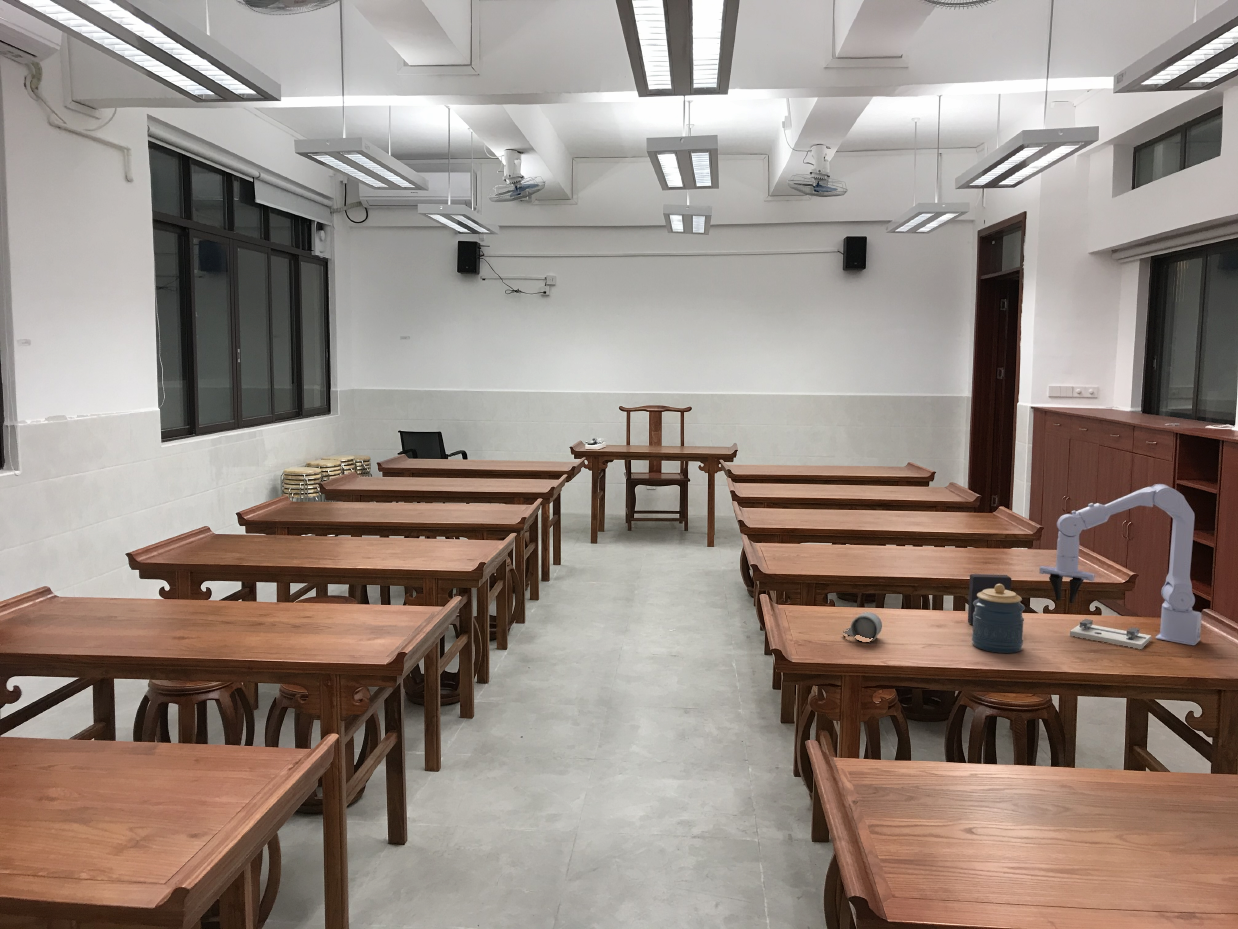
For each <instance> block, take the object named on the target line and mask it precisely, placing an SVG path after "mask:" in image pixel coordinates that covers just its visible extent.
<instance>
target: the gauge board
mask: <svg viewBox="0 0 1238 929" xmlns="http://www.w3.org/2000/svg"><path fill="white" fill-rule="evenodd" d="M1126 634H1127V630H1122V629H1116V628H1112V627H1105V626H1102V625H1095V624H1092V626H1091V627H1089V628H1088V629H1081V628H1080V624H1078V625H1077V626H1075V627H1074V628H1072V629H1071V630H1070V631H1069V637H1073V636H1075V637H1074V638H1078V637H1080V638H1079V639H1083V638H1086V639H1085V640H1088V639H1092V640H1091V641H1093V640H1098V641H1104V642H1109V643H1114V644H1119V645H1123V646H1122V647H1124V646H1128V647H1127V648H1130V647H1133V648H1132V649H1135V648H1138V649H1137V650H1140V649H1141V650H1142V649H1143V648H1145V647H1144V646H1145V645H1146V644H1147V643H1148V642H1149V641H1150V640H1151V641H1152V635H1149V634H1144V633H1140V632H1139V634H1138V635H1137V636H1136V637H1135V638H1133V637H1131V638H1129V637H1127V636H1126ZM1098 641H1097V642H1098ZM1151 641H1150V642H1151ZM1104 642H1103V643H1104ZM1150 642H1149V643H1150ZM1109 643H1108V644H1109ZM1149 643H1148V644H1149ZM1114 644H1113V645H1114ZM1148 644H1147V645H1148ZM1119 645H1118V646H1119ZM1147 645H1146V646H1147Z"/></svg>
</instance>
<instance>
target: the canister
mask: <svg viewBox="0 0 1238 929" xmlns="http://www.w3.org/2000/svg"><path fill="white" fill-rule="evenodd" d="M977 596H978V597H979V598H978V599H977V600H975V601H974V602H973V604H974V606H975V612H974V613H973V625H972V634H971V641H972V645H973V646H974V647H975V648H977V649H980V650H982V651H986V652H991V653H997V654H1014V653H1015V654H1016V653H1018V652H1020V651H1022V648H1023V644H1024V640H1023V636H1024V635H1023V634H1024V621H1025V618H1024V617H1023V611H1025V608H1026V607H1025V605H1024V604H1022V603H1021V601H1022V600H1023V599H1022V597H1021V596H1020V595H1018V594H1017V593H1016V592H1014V591H1009V590H1005V588H1004V586H1003V585H1002V584H997V585H995V587H994V589H985V590H983V591H982V592H979V593H978V594H977Z"/></svg>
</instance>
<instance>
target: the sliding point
mask: <svg viewBox="0 0 1238 929" xmlns="http://www.w3.org/2000/svg"><path fill="white" fill-rule="evenodd" d="M1093 622H1094V621H1093V619H1089V618H1084V619H1082V620H1081V621H1079V625H1080V628H1081V629H1088V628H1089V627H1091V626H1092V625H1094V623H1093Z"/></svg>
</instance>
